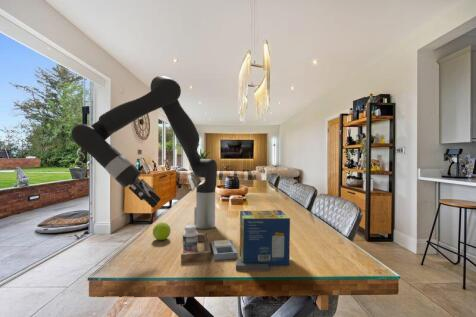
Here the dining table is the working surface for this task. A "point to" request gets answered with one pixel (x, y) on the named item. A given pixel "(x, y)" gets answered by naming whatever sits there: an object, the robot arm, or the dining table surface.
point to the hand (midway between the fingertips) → (157, 203)
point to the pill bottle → (190, 239)
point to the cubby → (198, 255)
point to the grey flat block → (251, 266)
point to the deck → (223, 250)
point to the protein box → (265, 237)
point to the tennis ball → (161, 231)
